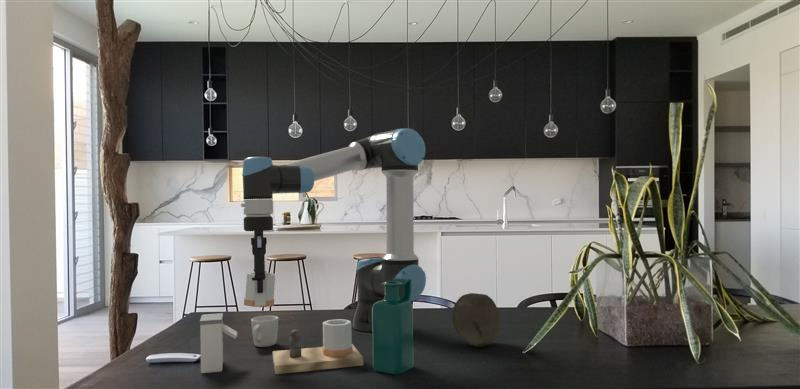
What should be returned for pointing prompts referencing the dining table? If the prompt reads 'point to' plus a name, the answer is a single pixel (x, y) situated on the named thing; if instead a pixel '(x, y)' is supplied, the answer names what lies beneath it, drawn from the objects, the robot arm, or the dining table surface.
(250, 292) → the sleeve
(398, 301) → the green square bottle
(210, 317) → the box
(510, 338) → the dining table surface
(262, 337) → the cup
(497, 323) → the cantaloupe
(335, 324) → the sleeve seated
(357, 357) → the pin board
